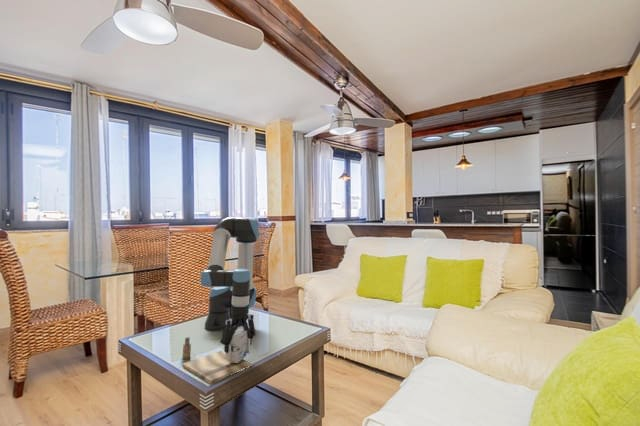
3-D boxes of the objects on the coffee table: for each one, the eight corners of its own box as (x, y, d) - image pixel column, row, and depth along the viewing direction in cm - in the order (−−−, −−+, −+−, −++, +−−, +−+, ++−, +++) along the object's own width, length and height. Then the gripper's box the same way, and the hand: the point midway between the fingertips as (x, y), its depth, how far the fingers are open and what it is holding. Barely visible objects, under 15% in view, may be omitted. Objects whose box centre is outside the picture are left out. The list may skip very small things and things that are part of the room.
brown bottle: (188, 355, 146) (189, 336, 146) (191, 358, 144) (192, 337, 144) (181, 358, 143) (182, 337, 144) (184, 360, 141) (185, 339, 142)
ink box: (236, 354, 146) (238, 328, 146) (247, 355, 145) (248, 329, 145) (227, 362, 137) (229, 334, 138) (238, 363, 136) (239, 335, 136)
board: (223, 352, 151) (224, 349, 151) (252, 366, 138) (252, 363, 138) (182, 366, 136) (183, 363, 136) (210, 383, 122) (210, 380, 122)
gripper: (254, 299, 152) (252, 346, 152) (213, 307, 135) (210, 361, 135) (265, 302, 148) (262, 351, 147) (223, 311, 131) (220, 366, 130)
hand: (237, 356), depth 141 cm, fingers closed on ink box, 9 cm apart
